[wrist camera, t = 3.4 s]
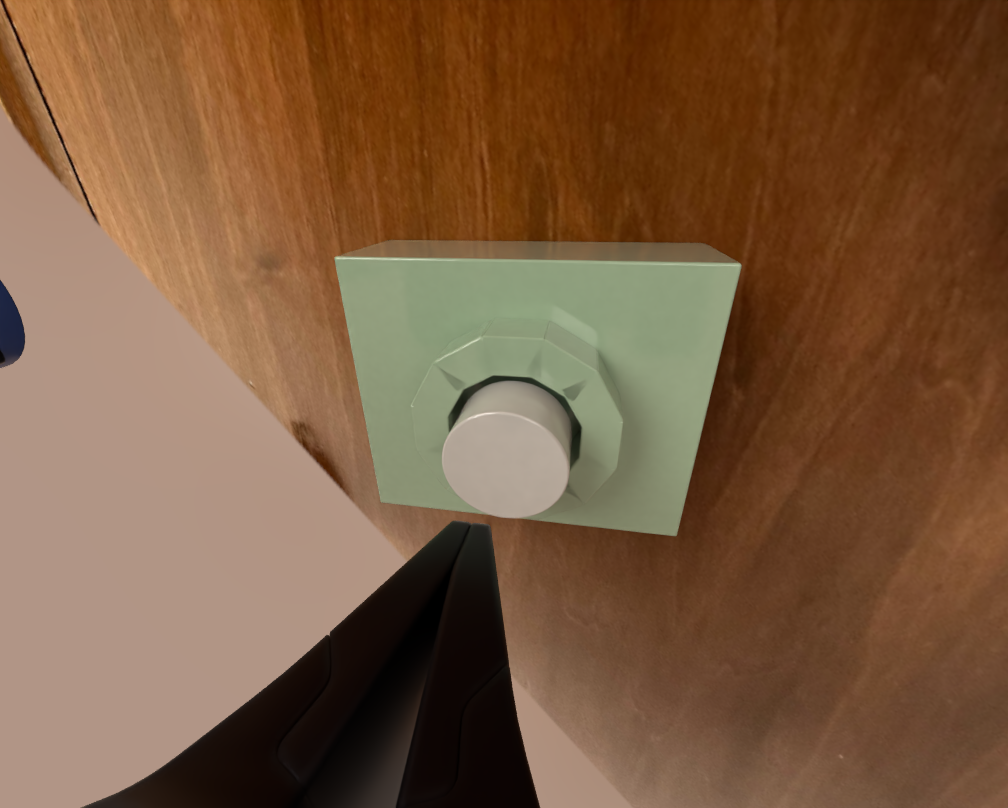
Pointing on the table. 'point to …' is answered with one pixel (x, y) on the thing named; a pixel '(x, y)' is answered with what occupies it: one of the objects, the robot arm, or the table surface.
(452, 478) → the beige button cap
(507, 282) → the button base
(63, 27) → the table surface
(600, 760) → the table surface
